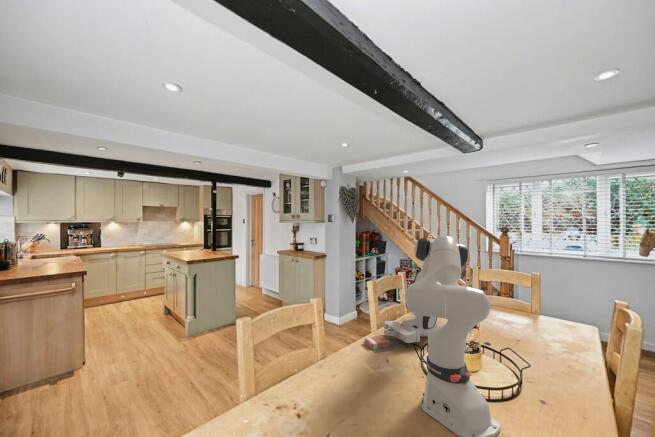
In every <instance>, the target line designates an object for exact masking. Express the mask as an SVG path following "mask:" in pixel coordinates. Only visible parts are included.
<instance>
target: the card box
mask: <svg viewBox="0 0 655 437" xmlns="http://www.w3.org/2000/svg"><path fill="white" fill-rule="evenodd" d="M386 338H387V337H385V336H384V335H377V336H372V337H365V338H364V342H365V344H364V345H365V346H367V347H368V348H369V349H370V348H371V349H377V348H383V347H389V346H390V341H389V340H387V339H386ZM371 349H370V350H371Z"/></svg>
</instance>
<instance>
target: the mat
mask: <svg viewBox="0 0 655 437" xmlns="http://www.w3.org/2000/svg"><path fill="white" fill-rule="evenodd" d="M385 338H386V339H387V340H389V341H390V346H389V347H383V348H377V349H371V348H369V349H370V350H371V351H372V352H374V354H376V353H377V354H378V353H383V352H388V351H393V350H394V351H395V350H398V349H404V348H406V346H405V345H404V344H403V343H401V342H400V341H398V340H396V338H393V336H392V337H391V336H390V337H385ZM363 344H364V345H366V344H365V341H363Z"/></svg>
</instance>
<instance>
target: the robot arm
mask: <svg viewBox="0 0 655 437" xmlns="http://www.w3.org/2000/svg"><path fill="white" fill-rule="evenodd" d="M413 251H414V252H413V253H414V254H415V255H414V256H415V258H416V259H417V260H419V261H421V262H422V267H421V270H419V271H418V272H417V273H416V274H415V277H414V279H413V282H412V283H411V284H410V285H408V287H407V289H406V290H405V293H404V302H405V308H406V309H407V310H408V311H409V312H411V313H412V314H413V316H414V317H415V318H414V319H406V320H402V321H401V323H400V322H398V321H396V320H385V321H383V329H384V330H383V333H384V335H386V336H387V337H389V336H390V337H391V336H392V337H396V338H398V339H399V340H400V341H403V343H406V344H411V343H420V342H421V337H427V356H426V369H427V374H426V379H425V385H424V386H425V387H424V394H423V398H422V399H423V401H422V402H423V403H422V405H421V409H422V411H423V412H424V413H426V414H428V416H430V417H432V418H433V419H434V420H436V421H437V422H439V423H440V424H441V425H442V426H444V427H445V428H447V429H449V431H451V432H452V433H454V434H455V435H456V436H458V437H496V436H498V434H500V431H501V424H500V423H499V422H498V420H496V419H495V418H494V417H493V416H492V415H491V409H490V406H489V403H488V401H487V400H486V399H485V396H484V394H483V393H482V392H481V391H480V390H479V389H478V388H477V386H475V384H474V383H473V381H472V380H471V376H473V371H472V370H471V371H469V370H468V367H467V363H466V361H465V360H466V359H465V353H466V351H465V350H466V342H467V338H468V335H469V334H470V332H471V330H472V329H474V327H475V326H477V325H478V324H480V323H481V322H484V321H485V320H486V319H487V318H488V317H489V315H490V312H491V307H492V305H491V301H490V299H489V297H488V296H487V294H486V293H485V292H484V290H482V289H478V288H476V287H472V286H468V285H457V284H456V283H458V281H459V280H460V279H461V277H462V268H463V267H465V266H466V265H467V263H468V260H469V255H470V254H469V249H468V246H466V245H464V244H462V243H459V242H457V241H456V240H455V238H453V237H451V236H449V235H440V236H437V237H436V238H428V237H420V238H419V239H417V241H416V242H415V244H414V247H413ZM455 284H456V285H455ZM438 318H439V319H445V320H447V322H446V323H444V324H443V325H441V326H439V324H438V322H437V321H438Z"/></svg>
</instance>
